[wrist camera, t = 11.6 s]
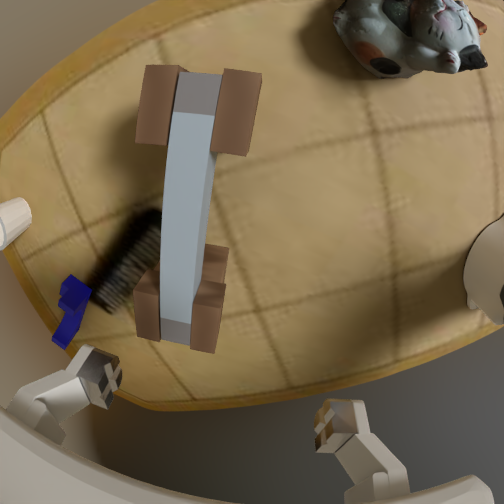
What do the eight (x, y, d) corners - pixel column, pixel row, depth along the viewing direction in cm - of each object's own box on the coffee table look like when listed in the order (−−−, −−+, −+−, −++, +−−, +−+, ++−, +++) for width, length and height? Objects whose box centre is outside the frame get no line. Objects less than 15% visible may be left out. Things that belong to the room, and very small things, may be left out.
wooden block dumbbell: (262, 91, 27) (261, 73, 16) (227, 288, 38) (214, 353, 27) (188, 83, 26) (145, 64, 16) (168, 277, 37) (137, 336, 27)
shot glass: (26, 188, 32) (-3, 203, 26) (38, 229, 35) (11, 248, 29) (6, 198, 33) (-22, 213, 26) (17, 235, 36) (-8, 253, 29)
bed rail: (229, 82, 20) (222, 74, 16) (197, 320, 30) (189, 345, 27) (193, 79, 19) (179, 71, 16) (171, 315, 30) (161, 339, 26)
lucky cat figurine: (363, -30, 18) (458, -48, 6) (412, 37, 25) (500, 41, 13) (309, 24, 19) (438, -3, 8) (375, 102, 26) (487, 119, 15)
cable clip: (71, 273, 38) (51, 294, 33) (92, 289, 40) (74, 311, 34) (60, 315, 43) (45, 335, 38) (79, 329, 44) (64, 350, 39)
